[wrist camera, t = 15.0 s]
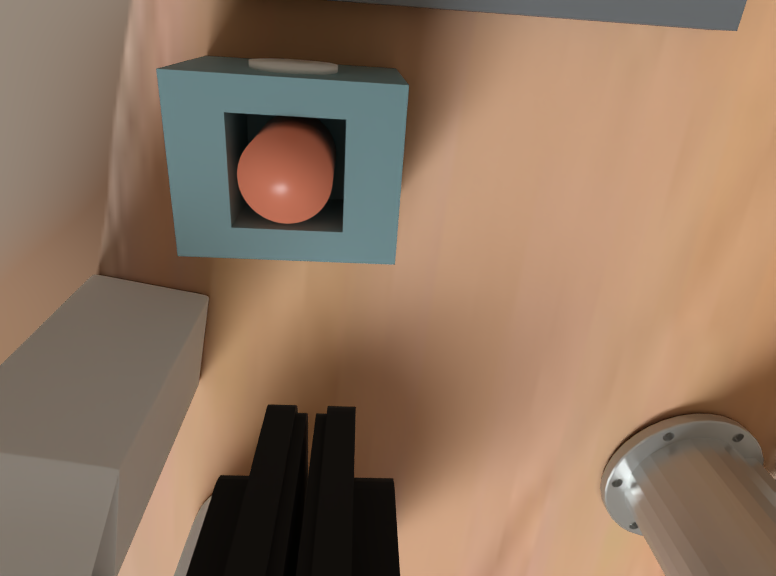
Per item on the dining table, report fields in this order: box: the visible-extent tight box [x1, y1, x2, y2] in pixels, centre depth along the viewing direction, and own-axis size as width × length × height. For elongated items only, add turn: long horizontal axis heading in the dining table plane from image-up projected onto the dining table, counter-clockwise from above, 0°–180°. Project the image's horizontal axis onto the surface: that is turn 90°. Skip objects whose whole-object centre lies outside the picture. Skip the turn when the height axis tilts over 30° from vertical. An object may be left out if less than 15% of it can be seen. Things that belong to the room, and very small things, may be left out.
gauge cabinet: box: [156, 56, 409, 265], centre depth 27 cm, size 10×8×8 cm
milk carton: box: [0, 275, 209, 576], centre depth 27 cm, size 7×7×19 cm
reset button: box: [237, 115, 336, 224], centre depth 25 cm, size 4×4×5 cm
